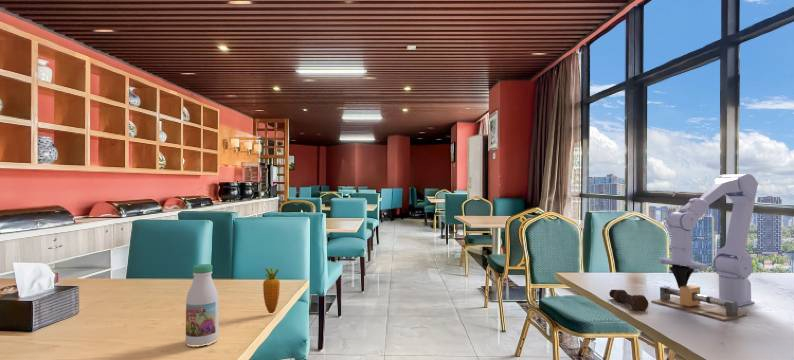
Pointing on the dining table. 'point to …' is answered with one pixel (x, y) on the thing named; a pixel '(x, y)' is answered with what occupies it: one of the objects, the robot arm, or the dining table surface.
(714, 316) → the board
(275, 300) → the carrot
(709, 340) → the dining table surface
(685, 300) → the collar
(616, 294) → the bolt
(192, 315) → the milk bottle
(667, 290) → the rail
